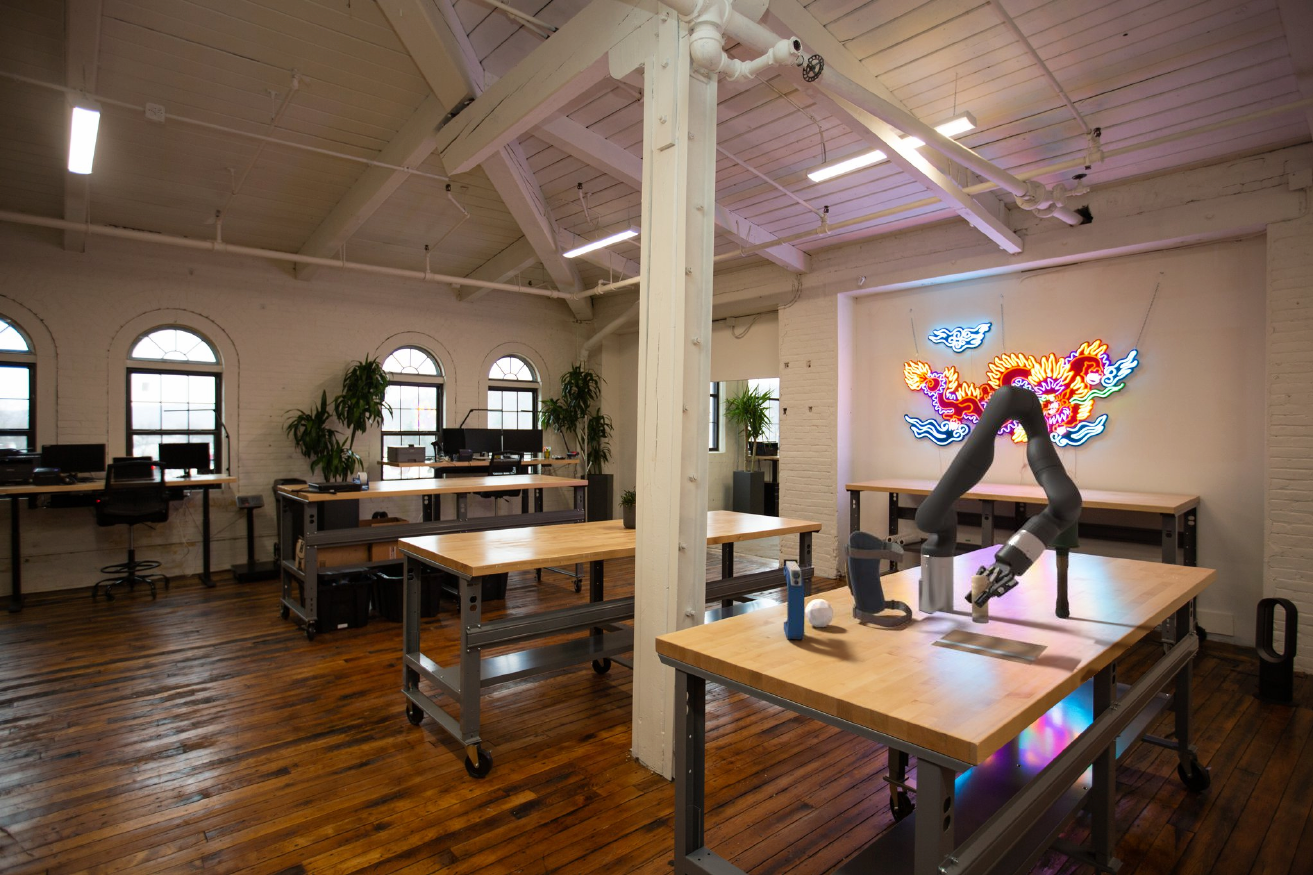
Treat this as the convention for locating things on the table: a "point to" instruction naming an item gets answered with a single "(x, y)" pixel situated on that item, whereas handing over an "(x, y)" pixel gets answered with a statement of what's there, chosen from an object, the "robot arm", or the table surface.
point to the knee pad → (872, 578)
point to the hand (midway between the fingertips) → (972, 602)
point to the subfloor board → (991, 646)
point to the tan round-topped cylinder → (977, 587)
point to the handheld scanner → (794, 600)
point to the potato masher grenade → (1064, 566)
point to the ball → (819, 613)
